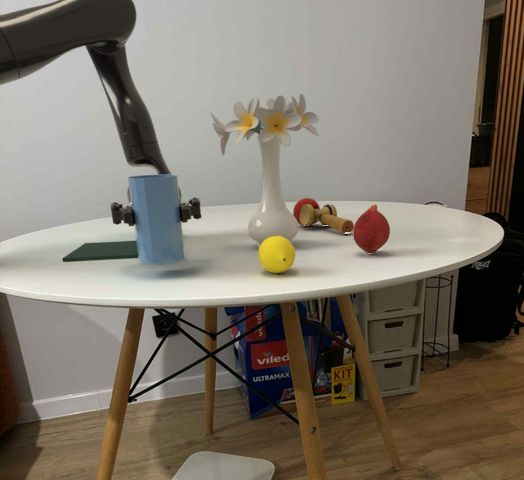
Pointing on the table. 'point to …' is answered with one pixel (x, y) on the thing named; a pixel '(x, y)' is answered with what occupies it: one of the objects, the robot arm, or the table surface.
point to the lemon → (276, 254)
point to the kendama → (320, 215)
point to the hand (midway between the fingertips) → (157, 216)
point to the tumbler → (157, 218)
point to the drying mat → (104, 251)
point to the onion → (371, 230)
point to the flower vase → (269, 157)
